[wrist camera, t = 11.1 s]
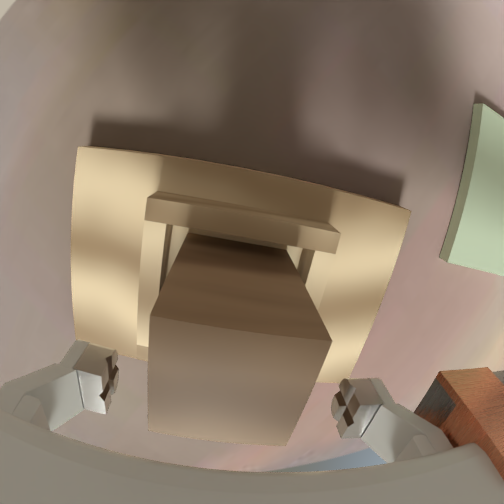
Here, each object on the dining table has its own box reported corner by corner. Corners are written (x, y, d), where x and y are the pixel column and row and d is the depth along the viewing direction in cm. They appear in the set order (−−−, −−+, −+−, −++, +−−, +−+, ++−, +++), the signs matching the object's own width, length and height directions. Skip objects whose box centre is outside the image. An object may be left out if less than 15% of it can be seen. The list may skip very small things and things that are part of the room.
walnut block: (187, 232, 15) (149, 315, 8) (286, 249, 16) (332, 341, 8) (176, 318, 17) (148, 430, 9) (265, 332, 17) (285, 446, 10)
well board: (90, 146, 15) (59, 147, 11) (398, 205, 17) (430, 219, 14) (84, 331, 18) (64, 361, 15) (339, 369, 21) (354, 402, 17)
